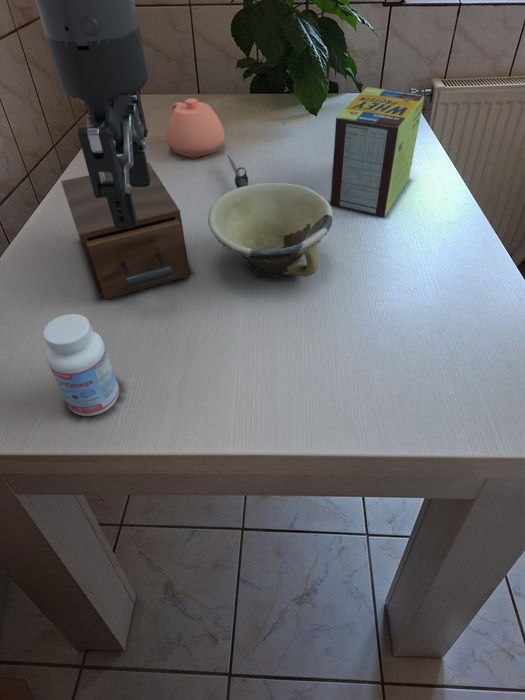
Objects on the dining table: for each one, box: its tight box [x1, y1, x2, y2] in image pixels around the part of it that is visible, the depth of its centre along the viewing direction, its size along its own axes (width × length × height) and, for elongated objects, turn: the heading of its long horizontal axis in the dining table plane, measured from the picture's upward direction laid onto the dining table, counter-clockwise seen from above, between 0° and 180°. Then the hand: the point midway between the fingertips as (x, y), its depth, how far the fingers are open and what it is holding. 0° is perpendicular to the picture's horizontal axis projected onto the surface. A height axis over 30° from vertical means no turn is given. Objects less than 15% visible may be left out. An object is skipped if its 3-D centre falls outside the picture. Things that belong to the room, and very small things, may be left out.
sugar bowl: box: [166, 98, 226, 160], centre depth 105 cm, size 12×14×10 cm
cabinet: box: [60, 162, 191, 299], centre depth 76 cm, size 17×14×11 cm
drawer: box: [86, 218, 190, 300], centre depth 73 cm, size 21×13×9 cm, turn 24°
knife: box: [226, 151, 249, 189], centre depth 93 cm, size 19×2×5 cm, turn 16°
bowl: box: [207, 182, 334, 278], centre depth 73 cm, size 18×18×10 cm
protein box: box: [329, 87, 425, 218], centre depth 87 cm, size 10×15×16 cm
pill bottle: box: [42, 313, 120, 417], centre depth 55 cm, size 6×6×11 cm
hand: (134, 205), depth 52 cm, fingers open, 8 cm apart
